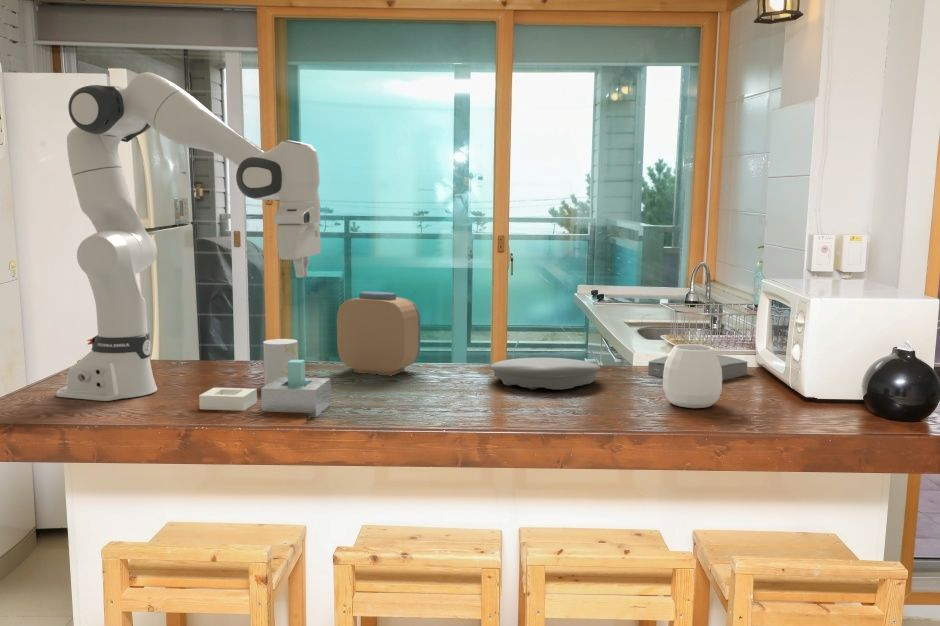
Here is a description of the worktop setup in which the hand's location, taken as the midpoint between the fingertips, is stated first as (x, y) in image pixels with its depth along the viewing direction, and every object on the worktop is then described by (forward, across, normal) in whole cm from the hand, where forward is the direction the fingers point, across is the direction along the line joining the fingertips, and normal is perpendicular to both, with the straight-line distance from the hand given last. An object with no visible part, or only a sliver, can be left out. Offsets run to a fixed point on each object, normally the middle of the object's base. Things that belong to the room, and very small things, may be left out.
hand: (301, 277), depth 193 cm
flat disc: (+30, -31, +54) cm, 69 cm away
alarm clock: (+29, -39, +9) cm, 50 cm away
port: (+29, +5, 0) cm, 30 cm away
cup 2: (+30, -11, +88) cm, 93 cm away
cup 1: (+29, -14, -10) cm, 34 cm away
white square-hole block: (+29, +7, -15) cm, 34 cm away
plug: (+28, +5, 0) cm, 29 cm away
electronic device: (+30, -47, +94) cm, 109 cm away
